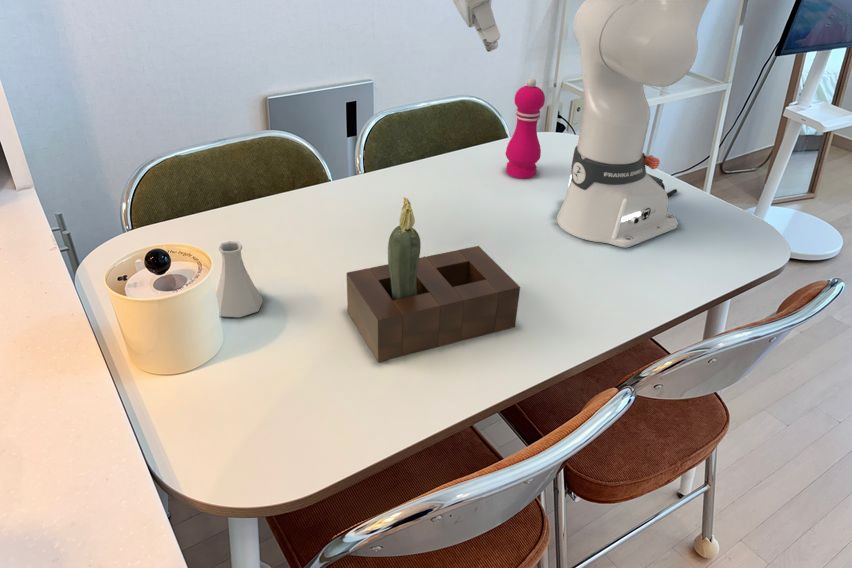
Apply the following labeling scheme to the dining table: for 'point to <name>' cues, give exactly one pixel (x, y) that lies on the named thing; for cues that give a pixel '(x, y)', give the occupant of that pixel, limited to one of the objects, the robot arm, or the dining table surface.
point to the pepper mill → (525, 132)
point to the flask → (236, 284)
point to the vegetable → (404, 255)
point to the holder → (433, 303)
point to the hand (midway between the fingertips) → (494, 45)
